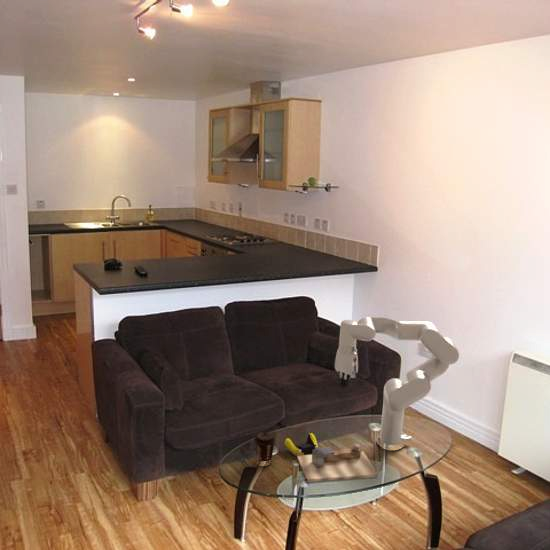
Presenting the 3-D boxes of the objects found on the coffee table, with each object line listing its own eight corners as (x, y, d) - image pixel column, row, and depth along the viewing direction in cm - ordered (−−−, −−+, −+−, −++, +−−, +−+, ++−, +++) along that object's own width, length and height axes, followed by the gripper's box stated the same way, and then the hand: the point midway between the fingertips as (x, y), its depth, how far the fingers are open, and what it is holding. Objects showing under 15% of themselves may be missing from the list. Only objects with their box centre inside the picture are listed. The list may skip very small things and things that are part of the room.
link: (357, 452, 267) (358, 446, 266) (362, 457, 263) (362, 451, 262) (320, 457, 261) (320, 451, 260) (324, 463, 257) (324, 457, 256)
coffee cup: (262, 455, 264) (263, 428, 261) (277, 462, 260) (279, 434, 256) (249, 463, 257) (250, 436, 254) (265, 470, 253) (267, 442, 249)
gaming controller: (282, 448, 270) (293, 460, 262) (283, 437, 269) (293, 448, 260) (311, 442, 277) (323, 453, 268) (312, 431, 275) (323, 441, 267)
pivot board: (363, 453, 269) (364, 440, 267) (377, 476, 252) (378, 462, 250) (297, 458, 263) (297, 444, 261) (307, 482, 246) (308, 467, 244)
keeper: (328, 458, 262) (329, 446, 260) (333, 464, 257) (334, 452, 256) (311, 462, 258) (312, 449, 257) (316, 468, 254) (317, 455, 252)
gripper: (366, 351, 265) (362, 389, 270) (340, 341, 275) (337, 378, 280) (355, 355, 260) (351, 394, 264) (328, 344, 270) (326, 382, 275)
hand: (344, 386), depth 272 cm, fingers closed
